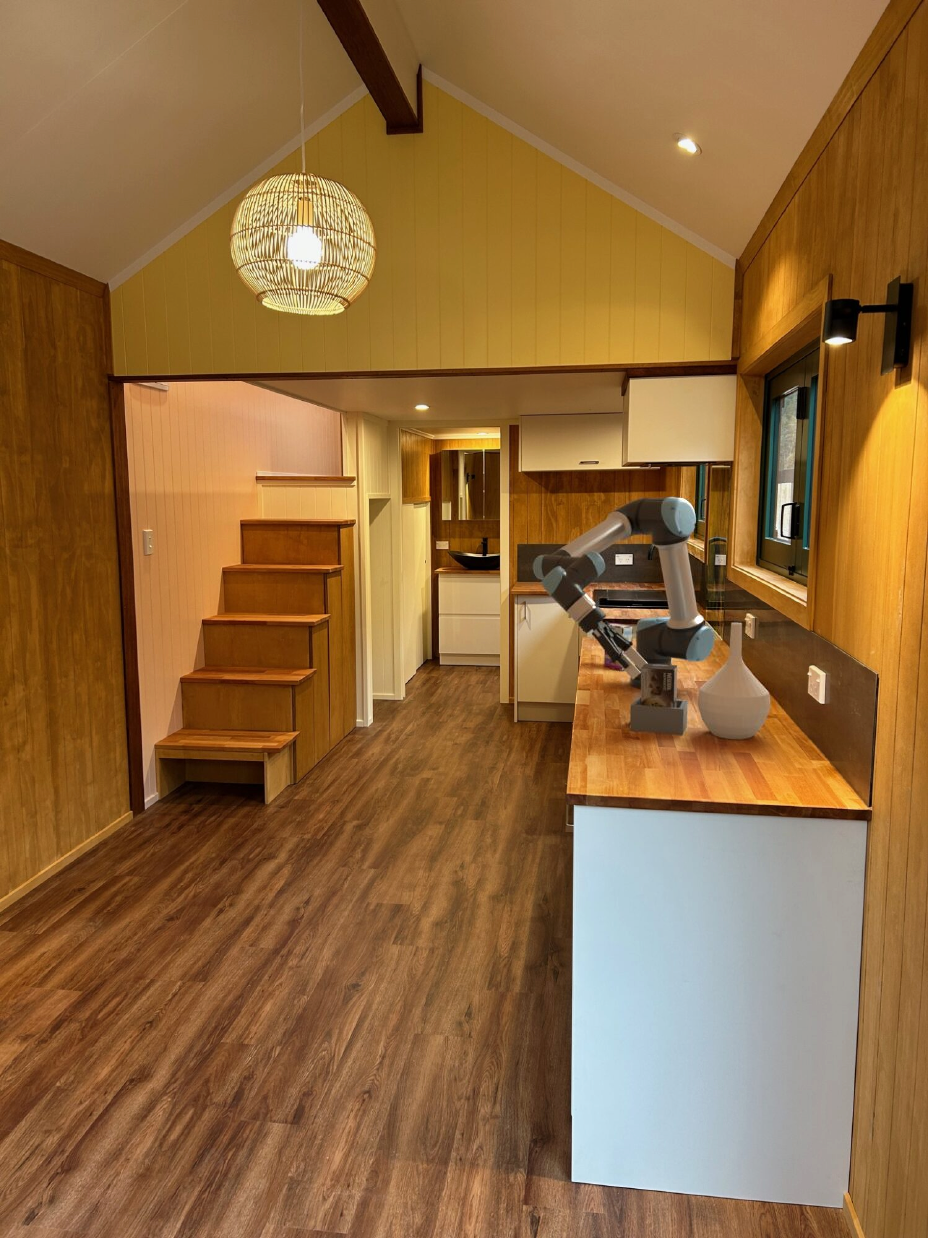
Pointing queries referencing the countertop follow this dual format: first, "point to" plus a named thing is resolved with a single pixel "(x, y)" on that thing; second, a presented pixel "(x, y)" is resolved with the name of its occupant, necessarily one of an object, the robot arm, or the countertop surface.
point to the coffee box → (659, 685)
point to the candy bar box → (627, 633)
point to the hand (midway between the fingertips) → (640, 671)
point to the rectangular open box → (658, 718)
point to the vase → (734, 696)
